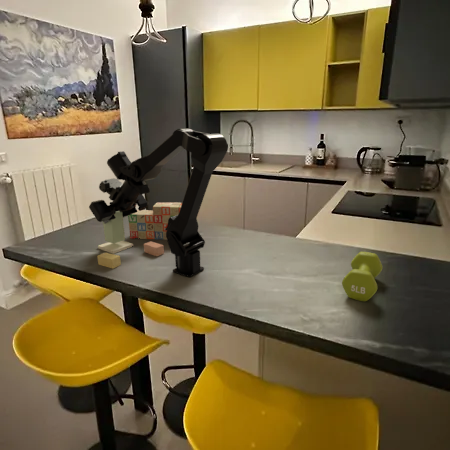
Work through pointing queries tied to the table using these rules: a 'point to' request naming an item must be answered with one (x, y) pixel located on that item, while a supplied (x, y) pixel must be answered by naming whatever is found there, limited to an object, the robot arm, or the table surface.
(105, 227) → the sage brick
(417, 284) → the table surface
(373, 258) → the dumbbell
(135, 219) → the stack of blocks
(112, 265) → the ochre brick
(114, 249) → the cream square slab
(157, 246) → the terracotta brick
